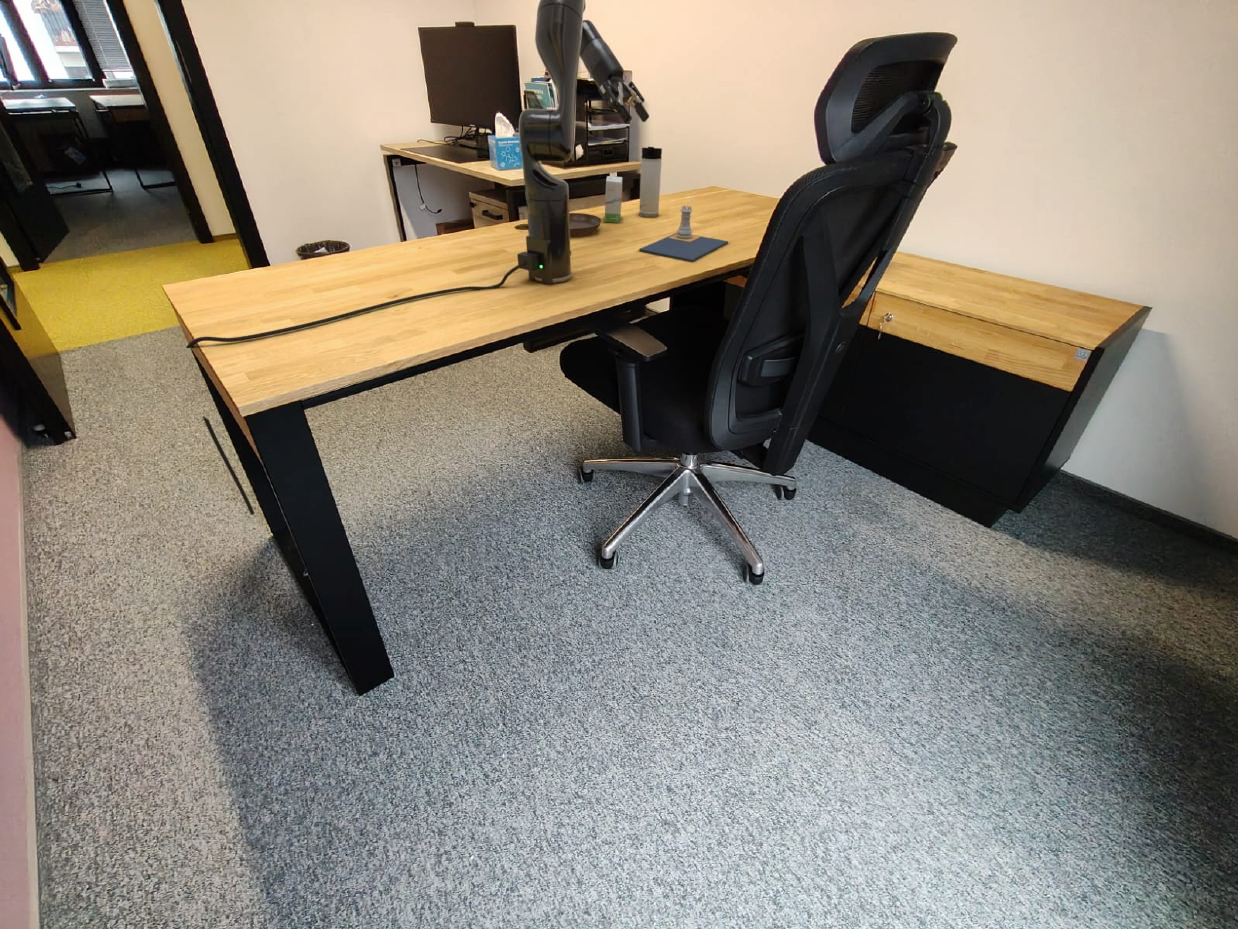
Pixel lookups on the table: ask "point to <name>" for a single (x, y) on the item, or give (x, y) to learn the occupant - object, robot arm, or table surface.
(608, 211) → the ink box
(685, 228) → the rook chess piece
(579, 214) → the plant saucer
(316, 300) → the table surface
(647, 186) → the travel mug
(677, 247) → the desk mat
